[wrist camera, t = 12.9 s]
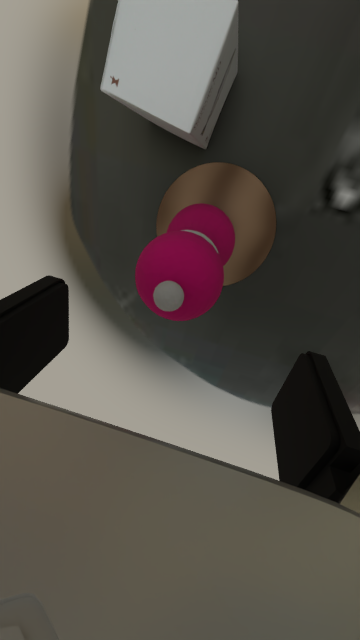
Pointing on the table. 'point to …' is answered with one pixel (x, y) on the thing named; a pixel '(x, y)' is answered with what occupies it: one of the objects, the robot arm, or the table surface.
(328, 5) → the table surface
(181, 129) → the supplement box
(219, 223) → the pepper mill
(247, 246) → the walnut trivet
